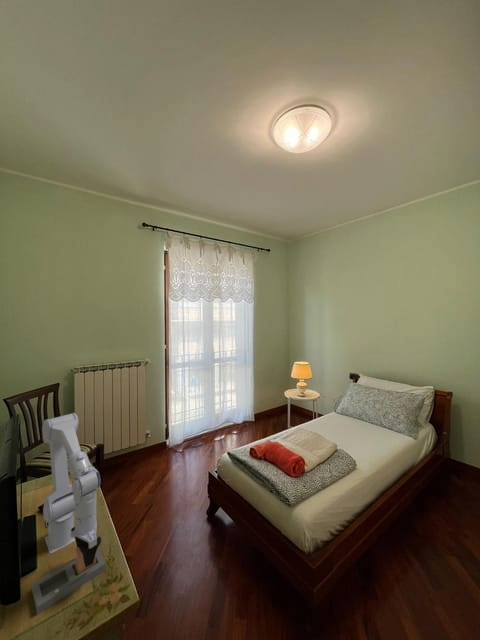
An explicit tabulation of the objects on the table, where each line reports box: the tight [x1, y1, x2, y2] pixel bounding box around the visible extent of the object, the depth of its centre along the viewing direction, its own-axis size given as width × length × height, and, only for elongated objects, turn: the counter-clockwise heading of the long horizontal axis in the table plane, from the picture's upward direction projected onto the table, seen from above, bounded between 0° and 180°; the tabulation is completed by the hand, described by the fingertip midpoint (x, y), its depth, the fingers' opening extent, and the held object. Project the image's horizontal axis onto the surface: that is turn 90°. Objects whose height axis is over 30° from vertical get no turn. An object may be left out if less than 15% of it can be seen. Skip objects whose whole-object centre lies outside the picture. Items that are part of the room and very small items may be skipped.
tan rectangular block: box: [74, 547, 96, 576], centre depth 79 cm, size 4×5×7 cm
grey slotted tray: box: [31, 547, 107, 616], centre depth 76 cm, size 9×17×3 cm, turn 136°
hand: (85, 556), depth 79 cm, fingers open, 7 cm apart
